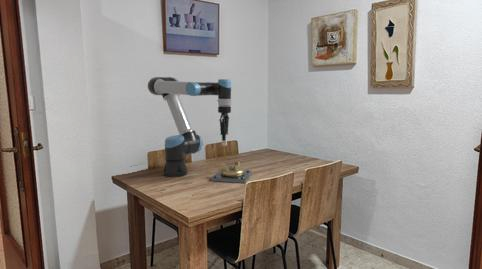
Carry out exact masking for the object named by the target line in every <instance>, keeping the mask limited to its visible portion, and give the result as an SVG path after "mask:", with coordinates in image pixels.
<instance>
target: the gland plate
mask: <svg viewBox="0 0 482 269" xmlns="http://www.w3.org/2000/svg"><path fill="white" fill-rule="evenodd" d="M252 175H253V170H244V175H242V176H238V177H226V176H222V175H221V169H220V170H219V171H217V172H216V173H215V174H214V175H212V177H210V181H211V182H221V183H233V184H247V182H248V180H249V179H250V178H251V176H252Z"/></svg>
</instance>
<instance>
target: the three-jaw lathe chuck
mask: <svg viewBox="0 0 482 269" xmlns="http://www.w3.org/2000/svg"><path fill="white" fill-rule="evenodd" d="M220 170H221V175H222V176H226V177H238V176H242V175H244V171H245V168H243V167H241V162H240V161H239V160H236V161H235V162H234V165H228V166H227V167H226V163H222V162H221V163H220Z"/></svg>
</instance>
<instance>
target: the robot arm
mask: <svg viewBox="0 0 482 269" xmlns="http://www.w3.org/2000/svg"><path fill="white" fill-rule="evenodd" d="M147 90H148V91H149V93H151V94H152V95H154V96H161V98H162V99H163V101H165V102H166V103H167V105H168V108H169V110H170V113H171V116H172V118H173V121H174V124H175V127H176V128H177V131H178V135H177V134H176V135H171V136H168V137H166V138H165V141H164V153H165V154H164V155H165V156H164V159H165V160H164V161H165V162H164V166H163V170H162V174H163V176H164V175H165V176H164V177H169V178H170V177H171V178H173V177H174V178H175V177H182V176H186V175H188V173H189V172H188V170H189V169H188V167H187V165H186V161H185V158H186V157H185V156H187V155H192V154H193V155H194V154H196V153H199V152H201V150H202V148H203V145H204V144H203V143H204V142H203V137H202V136H201V135H199V134H197V132H196V130H194V129H192V126H191V124H190V122H189V118H188V116H187V113H186V111H185V109H184V106H183V103H182V100H181V99H180V95H186V96H191V97H197V96H217V98H218V99H217V100H216V101H217V104H218V107H217V112H218V113H219V114H220V118H219V120H218V121H219V126H220V128H219V130H220V136H221V146H222V147H224V146H225V147H226V146H228V135H229V121H230V117H229V114H230V113H231V112H232V106H231V105H232V80H231V79H229V78H228V79H225V78H224V79H223V78H222V79H220V78H219V79H218V81H217V82H210V81H209V82H208V81H207V82H203V81H202V82H201V81H200V82H197V81H195V82H193V81H192V82H191V81H179V79H178V78H175V77H171V76H168V77H167V76H166V77H164V76H163V77H161V76H155V77H152V78H150V79H149V81H148V83H147Z"/></svg>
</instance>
